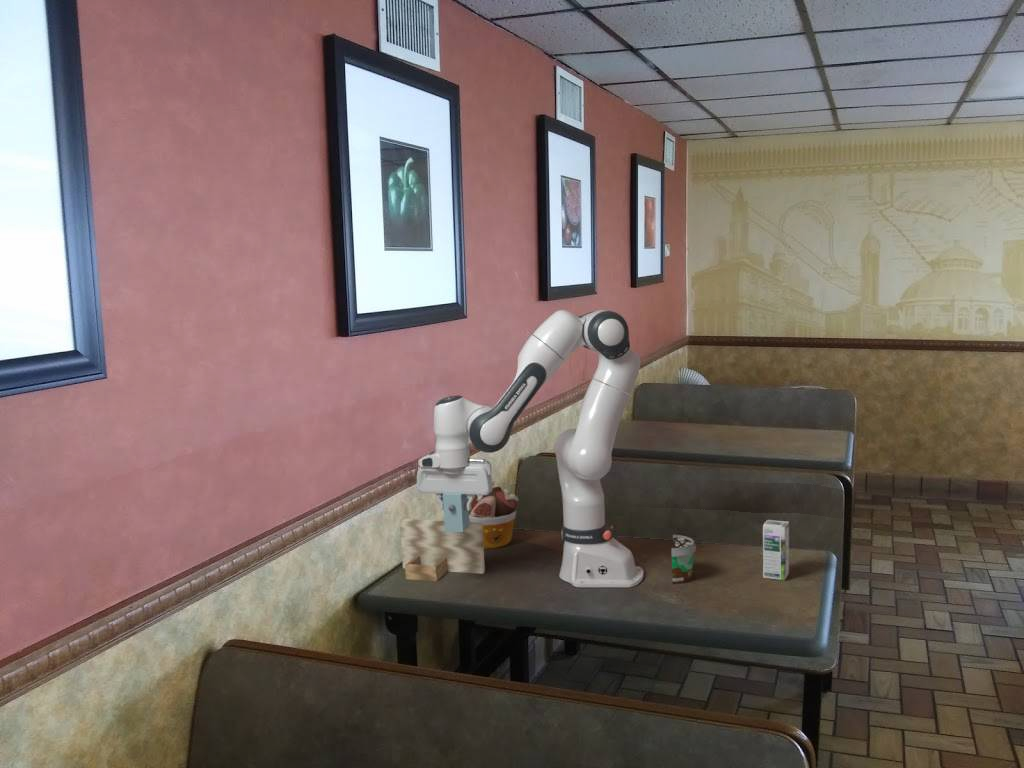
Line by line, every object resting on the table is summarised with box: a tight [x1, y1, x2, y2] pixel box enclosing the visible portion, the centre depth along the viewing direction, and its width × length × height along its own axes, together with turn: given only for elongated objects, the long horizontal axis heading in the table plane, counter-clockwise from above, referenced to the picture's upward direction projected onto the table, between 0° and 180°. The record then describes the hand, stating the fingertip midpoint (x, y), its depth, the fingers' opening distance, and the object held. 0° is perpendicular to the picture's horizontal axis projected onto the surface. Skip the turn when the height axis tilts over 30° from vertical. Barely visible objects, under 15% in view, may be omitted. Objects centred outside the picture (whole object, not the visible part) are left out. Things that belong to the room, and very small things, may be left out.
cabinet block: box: [442, 493, 470, 532], centre depth 244 cm, size 5×6×10 cm
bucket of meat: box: [468, 480, 519, 550], centre depth 282 cm, size 20×16×20 cm
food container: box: [671, 534, 697, 585], centre depth 246 cm, size 12×6×10 cm, turn 168°
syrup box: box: [762, 519, 790, 581], centre depth 244 cm, size 6×6×14 cm
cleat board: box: [399, 518, 486, 582], centre depth 256 cm, size 24×10×14 cm, turn 72°
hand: (456, 509), depth 245 cm, fingers closed on cabinet block, 5 cm apart
